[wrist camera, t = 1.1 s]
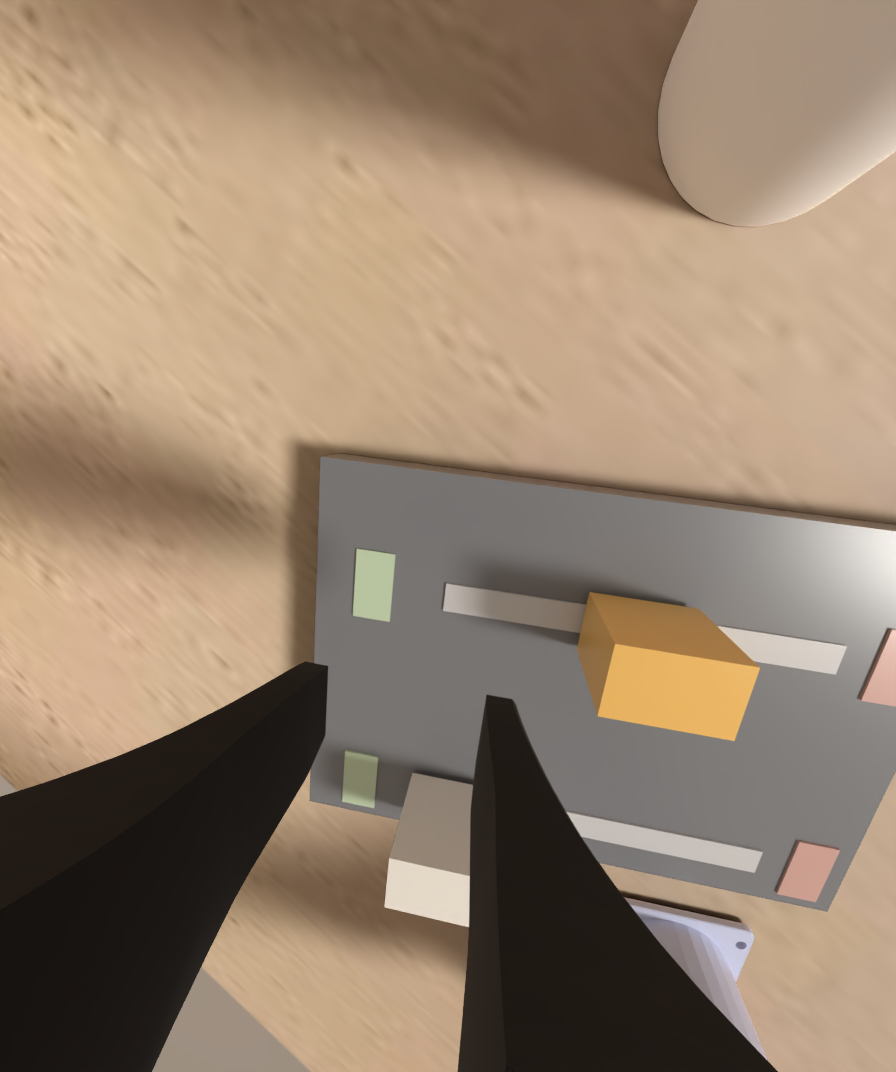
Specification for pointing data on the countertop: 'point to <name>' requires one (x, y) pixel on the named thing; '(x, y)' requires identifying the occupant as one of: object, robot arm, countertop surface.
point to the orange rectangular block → (663, 667)
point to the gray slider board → (558, 679)
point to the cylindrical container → (777, 104)
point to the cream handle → (432, 851)
